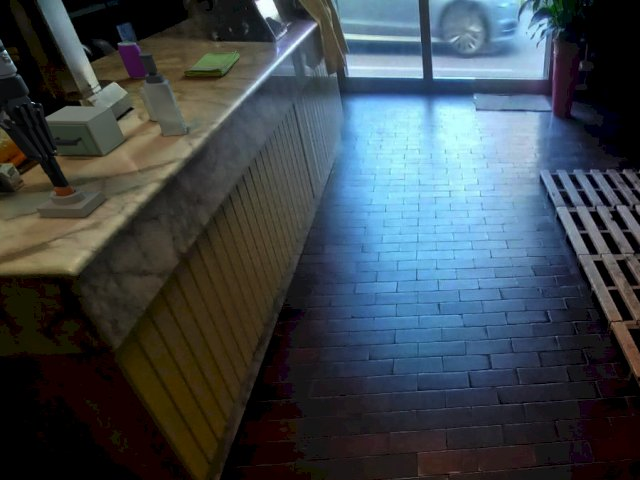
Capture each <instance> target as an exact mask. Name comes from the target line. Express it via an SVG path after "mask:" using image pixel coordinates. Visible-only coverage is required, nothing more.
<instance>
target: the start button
mask: <svg viewBox="0 0 640 480" xmlns="http://www.w3.org/2000/svg"><path fill="white" fill-rule="evenodd" d="M72 187H73V186H72V184H69V185H68V186H67V187H53V191H55V192H56V194H57V196H68V195H71V194H74V193H75V191H74V190H73V188H72Z"/></svg>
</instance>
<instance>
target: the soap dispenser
mask: <svg viewBox="0 0 640 480" xmlns="http://www.w3.org/2000/svg"><path fill="white" fill-rule="evenodd" d="M141 53H142V54H139V57H140V58H141V60H142V63H143V65H144V68H145V70H146V72H147V73H148V74H147V75H145V78H144V79H145V80H144V83H143V86H144V89H145V91H146V94H147V96H148V98H149V101H150V103H151V106H152V108H153V111H154V113H155V115H156V118H157V120H158V121H157V122H158V125H159V127H160V129H161V132H162V135H163V137H169V136H171V137H172V136H181V135H187V124H186V122H185V120H184V116H183V114H182V112H181V109H180V106H179V104H178V101H177V99H176V96H175V93H174V91H173V88H172V85H171V82H170V80H169V79H168V78H164V76H163V74H161V73H158V72H159V71H158V68H157V66H156V62H155V61H154V58H153V54H152V53H150V52H141Z"/></svg>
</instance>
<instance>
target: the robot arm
mask: <svg viewBox="0 0 640 480" xmlns="http://www.w3.org/2000/svg"><path fill="white" fill-rule="evenodd" d="M17 71H18V68H17V67H16V65H15V64H14V62H13V60H12V58H11V57H10V54H9V53H8V52H7V50H6V47H5V45H4V44H3V42H2V40H1V39H0V129H2V130H3V131H4V132H5V133H6V135H7V136H8V137H9V138H10V139H11V141H12V142H13V144H15V145H16V147H17V148H18V149H19V150H20V151H21V153H22V154H23V155H24V157H25V158H26V159H27V160H28V161H37V163H38V164H39V166H40V168H41V169H42V171H43V173H44V174H45V175H46V176H47V178H48V179H49V181H50V182H51V185H52V186H53V188H55V187H67V186H68V185H70V183H69V181H68V179H67V178H66V176H65V173H64V172H63V171H62V169H61V166H60V164H59V163H58V160H57V159H56V157H58V156H59V154H58V152H56V150H57V146H56V143H55V141H54V138H53V136H52V133H51V131H50V128H49V126H48V123H47V121H46V116H45V112H44V111H45V110H44V106H43V104H42V103H39V102H33V101H32V100H31V98H30V97H29V96H28V95H29V93H30V90H29V88H28V86H27V85H26V82H25V81H24V79H23V78H22V76H21V75H20V74H19V73H17Z"/></svg>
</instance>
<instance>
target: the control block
mask: <svg viewBox="0 0 640 480" xmlns="http://www.w3.org/2000/svg"><path fill="white" fill-rule="evenodd" d="M72 188H73V190H74V191H75V193H74V194H71V195H68V196H57V194H56V192H55V191H54V190H53V191H52V192H51V193H49V199H47V200H46V201H45V202H43V203H42V204H40V205H39V206H38V207H36V211H37V213H38V214H39V216H40V217H41V218H86V217H88V216H89V215H90V214H91V213H92V212H93V211H94V210H96V208H98V207H99V206H100V205H102V203H104V202H105V201H106V198H105V196H104V194H103V192H102V191H100V190H99V191H98V190H97V191H95V190H94V191H93V190H91V191H90V190H89V191H88V190H87V191H86V190H85V191H83V189H82V188H80V187H77V186H72Z"/></svg>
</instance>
